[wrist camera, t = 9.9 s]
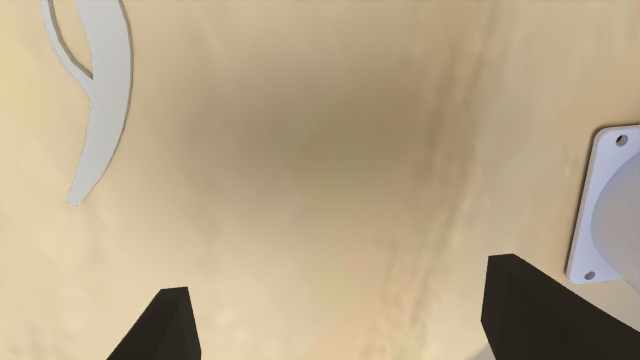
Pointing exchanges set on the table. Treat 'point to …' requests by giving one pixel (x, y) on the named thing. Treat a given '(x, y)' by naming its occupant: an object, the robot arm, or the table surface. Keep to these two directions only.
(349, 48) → the table surface
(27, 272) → the table surface
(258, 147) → the table surface
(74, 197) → the pliers
